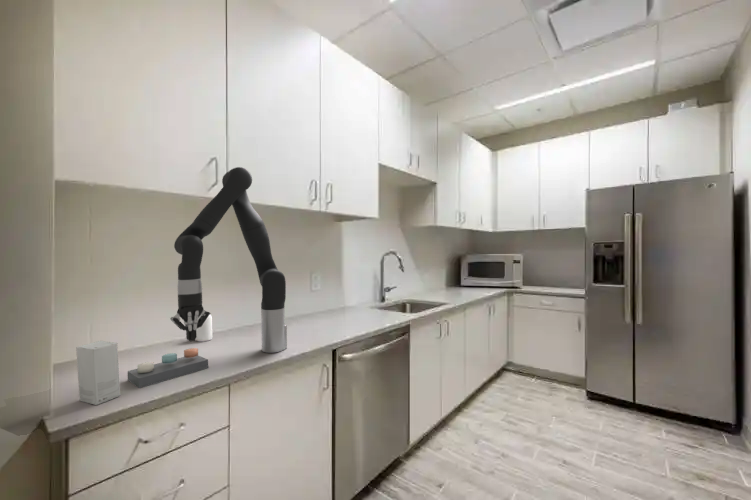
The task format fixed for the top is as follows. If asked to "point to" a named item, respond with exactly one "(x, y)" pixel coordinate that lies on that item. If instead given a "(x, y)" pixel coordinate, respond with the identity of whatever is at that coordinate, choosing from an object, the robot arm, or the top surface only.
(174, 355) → the teal button
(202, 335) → the can
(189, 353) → the terracotta button
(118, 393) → the skincare box
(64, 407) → the top surface
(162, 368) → the console
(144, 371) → the cream button
